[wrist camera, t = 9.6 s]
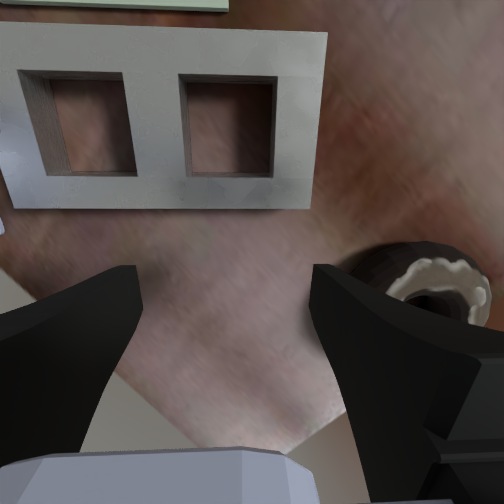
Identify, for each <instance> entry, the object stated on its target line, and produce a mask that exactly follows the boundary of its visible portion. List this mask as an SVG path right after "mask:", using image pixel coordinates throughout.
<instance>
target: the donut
mask: <svg viewBox="0 0 504 504" xmlns="http://www.w3.org/2000/svg"><path fill="white" fill-rule="evenodd" d="M350 275H351V276H353V277H355V278H356V279H358V280H360V281H362V282H364V283H365V284H367V285H369V286H371V287H373V288H375V289H377V290H379V291H381V292H383V293H385V294H387V295H389V296H392V297H394V298H396V299H398V300H401V301H403V302H406V301H407V300H409V299H411V298H414V297H417V296H421V295H426V296H427V301H426V303H425V306H424V307H423V309H424V310H427V311H430V312H433V313H436V314H439V315H442V316H445V317H448V318H452V319H455V320H459V321H462V322H466V323H469V324H473V325H477V326H481V327H484V325H485V323H486V321H487V319H488V317H489V310H490V304H491V292H490V287H489V283H488V279H487V277H486V275H485V274H484V272H483V271H482V270H481V268H480V267H479V266H478V264H477V263H476V262H475V260H473V259H472V258H471V257H469V256H468V255H466V254H464V253H463V252H461V251H459V250H458V249H456V248H454V247H452V246H449V245H444V244H439V243H434V242H429V241H421V242H410V243H401V244H398V245H395V246H392V247H389V248H386V249H383V250H381V251H379V252H377V253H376V254H374V255H372V256H371V257H369V258H368V259H366V260H365V261H363V262H362V263H361V264H360V265H359V266H358V267H357V268H356V269H355V270H354V271H353V272H352V273H351V274H350Z"/></svg>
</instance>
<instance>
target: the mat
mask: <svg viewBox="0 0 504 504" xmlns="http://www.w3.org/2000/svg"><path fill="white" fill-rule="evenodd" d="M0 2H1V3H3V4H20V5H48V6H76V7H103V8H131V9H159V10H187V11H214V12H229V3H228V0H0Z"/></svg>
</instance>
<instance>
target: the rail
mask: <svg viewBox="0 0 504 504" xmlns="http://www.w3.org/2000/svg"><path fill="white" fill-rule="evenodd" d="M327 34H328V32H299V31H269V30H239V29H209V28H179V27H148V26H118V25H88V24H58V23H28V22H0V168H1V171H2V174H3V177H4V180H5V182H6V185H7V188H8V191H9V194H10V197H11V200H12V203H13V206H14V208H73V209H310V203H311V193H312V183H313V173H314V163H315V153H316V143H317V134H318V124H319V114H320V104H321V94H322V84H323V74H324V64H325V54H326V44H327ZM49 79H62V80H104V81H124V87H125V94H126V100H127V107H128V114H129V120H130V127H131V134H132V140H133V147H134V154H135V160H136V167H137V172H121V171H71V168H70V164H69V160H68V155H67V151H66V147H65V143H64V139H63V135H62V131H61V127H60V123H59V119H58V115H57V110H56V106H55V102H54V98H53V94H52V90H51V86H50V82H49ZM186 82H188V83H230V84H272V85H273V86H272V113H271V139H270V166H269V173H239V172H193V167H192V153H191V139H190V125H189V111H188V97H187V83H186Z"/></svg>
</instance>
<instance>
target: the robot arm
mask: <svg viewBox="0 0 504 504" xmlns="http://www.w3.org/2000/svg"><path fill="white" fill-rule="evenodd" d="M4 231H5V230H4V226H3V223H2V221H1V218H0V235H2V234H3V233H4ZM309 309H310V313H311V317H312V320H313V324H314V327H315V330H316V332H317V334H318V337H319V339H320V342H321V344H322V346H323V349H324V351H325V353H326V355H327V358H328V360H329V362H330V365H331V367H332V369H333V372H334V374H335V377H336V379H337V382H338V385H339V388H340V391H341V394H342V398H343V401H344V404H345V407H346V411H347V414H348V418H349V421H350V424H351V428H352V431H353V435H354V439H355V442H356V446H357V449H358V453H359V457H360V461H361V465H362V469H363V472H364V476H365V481H366V485H367V489H368V493H369V497H370V501H371V503H359V504H504V332H502V331H498V330H493V329H489V328H485V327H481V326H477V325H473V324H469V323H466V322H462V321H459V320H455V319H452V318H448V317H445V316H442V315H439V314H436V313H433V312H430V311H427V310H424V309H421V308H418V307H416V306H413V305H411V304H408V303H406V302H403V301H401V300H398V299H396V298H394V297H392V296H389V295H387V294H385V293H383V292H381V291H379V290H377V289H375V288H373V287H371V286H369V285H367V284H365V283H364V282H362V281H360V280H358V279H356V278H355V277H353V276H351V275H349V274H347V273H346V272H344V271H342V270H340V269H338V268H336V267H334V266H332V265H330V264H314V265H313V273H312V282H311V291H310V299H309ZM142 311H143V304H142V298H141V293H140V287H139V281H138V276H137V270H136V265H120V266H117V267H114V268H111V269H109V270H106V271H104V272H102V273H100V274H98V275H95V276H93V277H91V278H89V279H87V280H85V281H83V282H81V283H78V284H76V285H74V286H72V287H70V288H67V289H65V290H63V291H60V292H58V293H56V294H53V295H51V296H49V297H47V298H44V299H42V300H39V301H37V302H34V303H31V304H29V305H27V306H23V307H20V308H17V309H15V310H12V311H9V312H6V313H3V314H0V504H320V500H319V496H318V492H317V489H316V485H315V481H314V478H313V474H312V472H310V471H309V470H308V469H306V468H305V467H303V466H302V465H300V464H299V463H297V462H295V461H294V460H292V459H290V458H289V457H287V456H286V455H284V454H282V453H281V452H279V451H274V450H266V449H258V448H250V447H243V446H238V447H213V448H189V449H188V448H187V449H163V450H135V451H109V452H85V453H79V452H80V449H81V446H82V444H83V441H84V438H85V436H86V433H87V431H88V428H89V425H90V422H91V420H92V417H93V415H94V412H95V410H96V408H97V405H98V403H99V401H100V398H101V396H102V393H103V391H104V389H105V387H106V384H107V383H108V381H109V379H110V376H111V375H112V373H113V371H114V369H115V367H116V366H117V364H118V362H119V360H120V358H121V356H122V355H123V353H124V351H125V349H126V347H127V345H128V343H129V342H130V340H131V338H132V336H133V334H134V332H135V330H136V328H137V325H138V322H139V320H140V317H141V314H142Z"/></svg>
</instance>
